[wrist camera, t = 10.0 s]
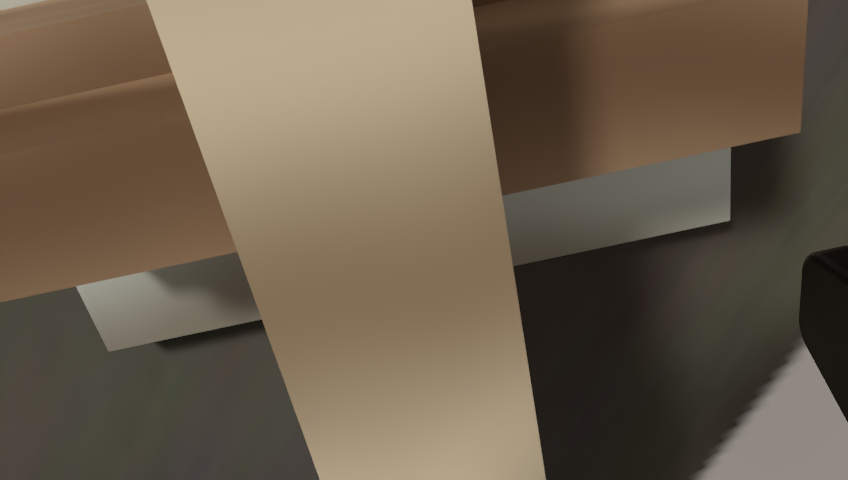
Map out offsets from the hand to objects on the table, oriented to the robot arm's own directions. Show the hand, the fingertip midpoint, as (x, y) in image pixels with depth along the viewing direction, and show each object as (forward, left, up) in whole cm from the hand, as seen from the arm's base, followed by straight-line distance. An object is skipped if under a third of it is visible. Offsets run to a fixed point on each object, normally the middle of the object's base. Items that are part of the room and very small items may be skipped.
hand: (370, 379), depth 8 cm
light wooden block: (0, 0, -5) cm, 5 cm away
